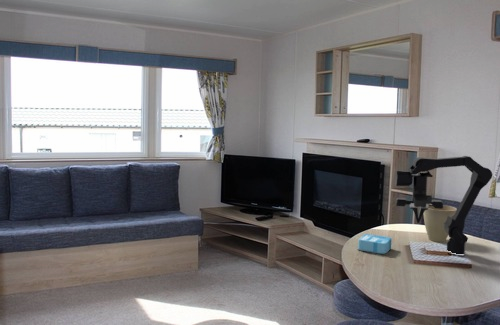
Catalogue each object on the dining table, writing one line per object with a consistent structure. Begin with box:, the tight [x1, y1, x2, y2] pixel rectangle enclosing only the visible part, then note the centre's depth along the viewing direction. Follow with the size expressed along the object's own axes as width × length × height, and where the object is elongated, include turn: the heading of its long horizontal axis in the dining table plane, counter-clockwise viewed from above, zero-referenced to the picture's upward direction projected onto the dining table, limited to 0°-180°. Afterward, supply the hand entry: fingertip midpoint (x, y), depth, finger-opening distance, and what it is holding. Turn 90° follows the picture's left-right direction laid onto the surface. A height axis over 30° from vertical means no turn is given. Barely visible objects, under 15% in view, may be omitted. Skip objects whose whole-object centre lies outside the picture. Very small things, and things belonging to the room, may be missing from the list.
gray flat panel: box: [357, 248, 382, 255], centre depth 206 cm, size 10×11×1 cm
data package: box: [357, 233, 392, 255], centre depth 205 cm, size 12×4×12 cm
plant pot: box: [422, 204, 458, 243], centre depth 223 cm, size 15×15×16 cm
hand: (418, 222), depth 203 cm, fingers closed
